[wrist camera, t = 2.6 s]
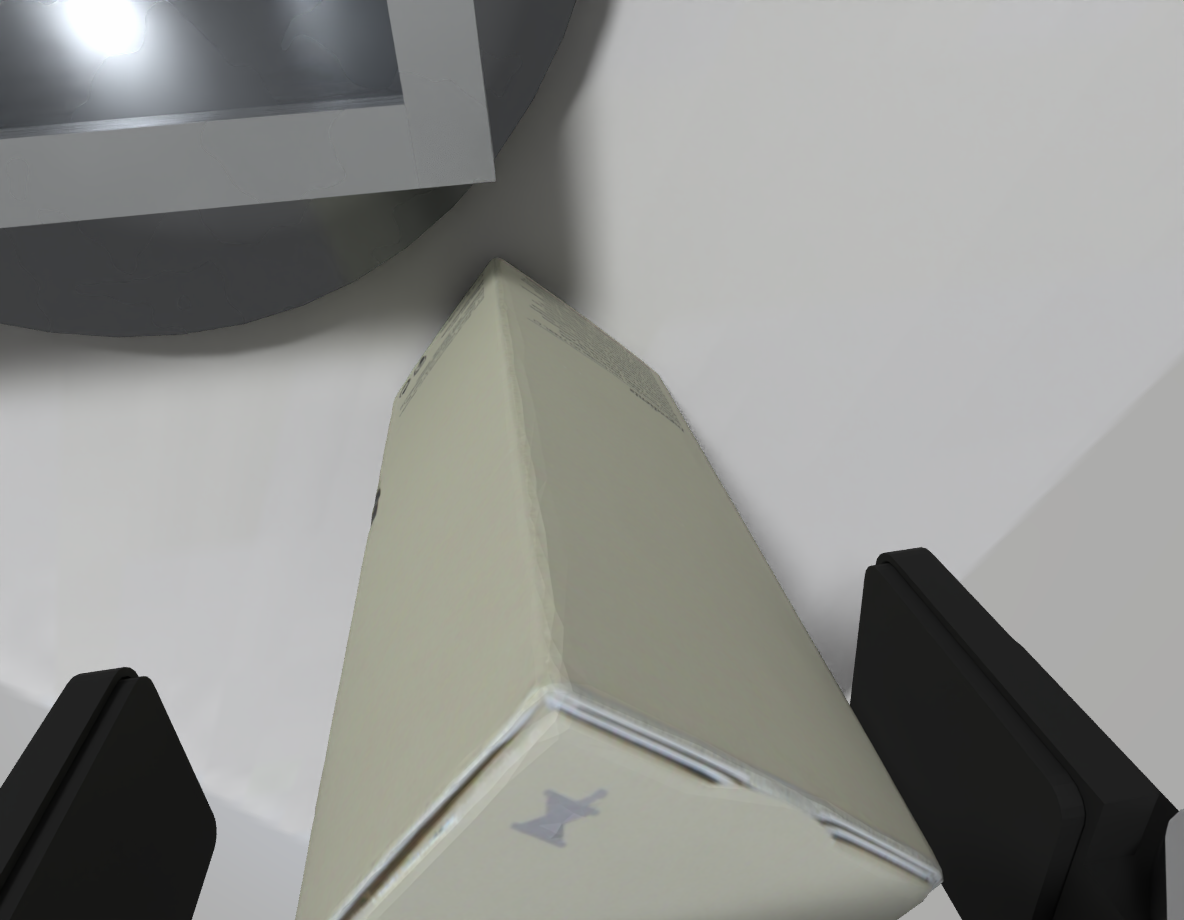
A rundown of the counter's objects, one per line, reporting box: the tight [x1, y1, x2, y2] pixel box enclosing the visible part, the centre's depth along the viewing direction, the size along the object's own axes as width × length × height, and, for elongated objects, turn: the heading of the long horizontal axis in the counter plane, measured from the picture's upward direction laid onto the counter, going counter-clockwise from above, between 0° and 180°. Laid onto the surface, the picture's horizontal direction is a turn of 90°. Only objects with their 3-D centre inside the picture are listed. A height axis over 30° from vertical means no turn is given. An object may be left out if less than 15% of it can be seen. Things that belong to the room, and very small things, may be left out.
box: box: [295, 258, 943, 920], centre depth 13 cm, size 5×4×13 cm
